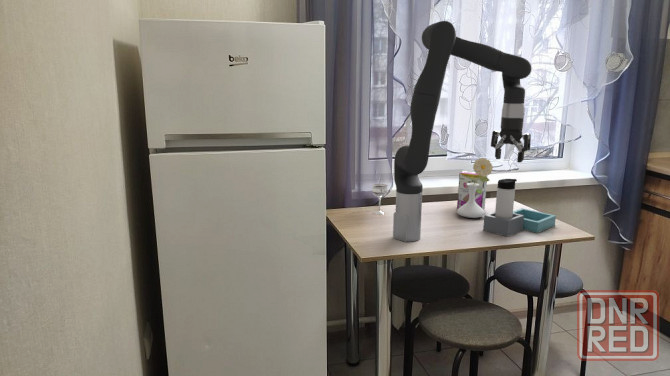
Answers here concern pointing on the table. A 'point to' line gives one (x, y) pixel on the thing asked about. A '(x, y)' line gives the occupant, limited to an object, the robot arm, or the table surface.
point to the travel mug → (505, 198)
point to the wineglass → (379, 193)
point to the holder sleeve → (503, 224)
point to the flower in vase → (471, 207)
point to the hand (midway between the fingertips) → (508, 160)
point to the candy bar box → (464, 190)
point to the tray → (536, 220)
